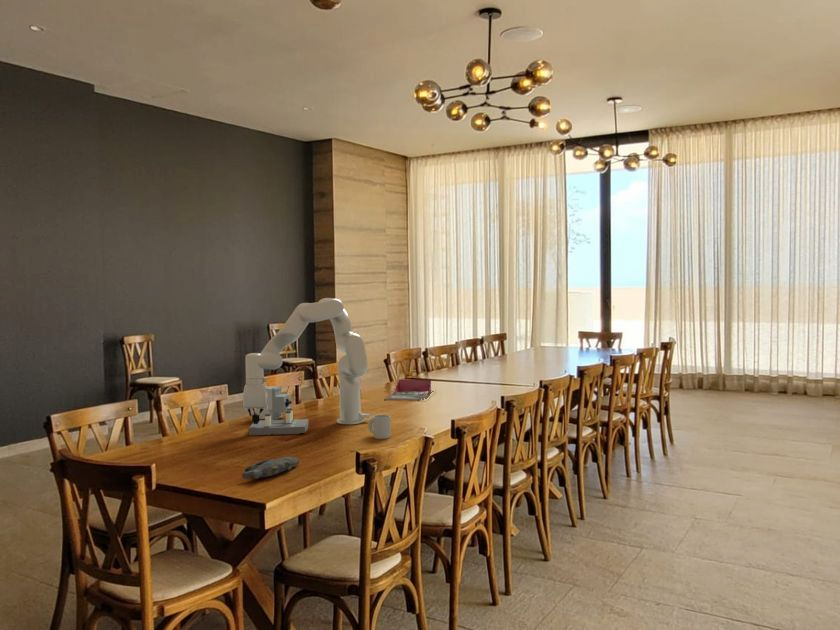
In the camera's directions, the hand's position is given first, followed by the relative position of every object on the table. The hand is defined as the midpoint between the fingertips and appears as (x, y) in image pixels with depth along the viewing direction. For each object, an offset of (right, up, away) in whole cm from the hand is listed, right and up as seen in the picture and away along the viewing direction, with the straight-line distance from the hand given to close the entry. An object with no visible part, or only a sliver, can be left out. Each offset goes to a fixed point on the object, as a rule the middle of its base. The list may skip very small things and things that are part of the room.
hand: (255, 423), depth 304 cm
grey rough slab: (+18, -8, -63) cm, 66 cm away
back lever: (+12, 0, +13) cm, 18 cm away
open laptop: (+66, 0, +97) cm, 117 cm away
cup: (+54, -4, -9) cm, 55 cm away
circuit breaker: (+2, -3, +34) cm, 35 cm away
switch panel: (+9, -4, +7) cm, 12 cm away
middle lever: (+13, -1, +7) cm, 15 cm away
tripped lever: (+5, -1, 0) cm, 5 cm away
